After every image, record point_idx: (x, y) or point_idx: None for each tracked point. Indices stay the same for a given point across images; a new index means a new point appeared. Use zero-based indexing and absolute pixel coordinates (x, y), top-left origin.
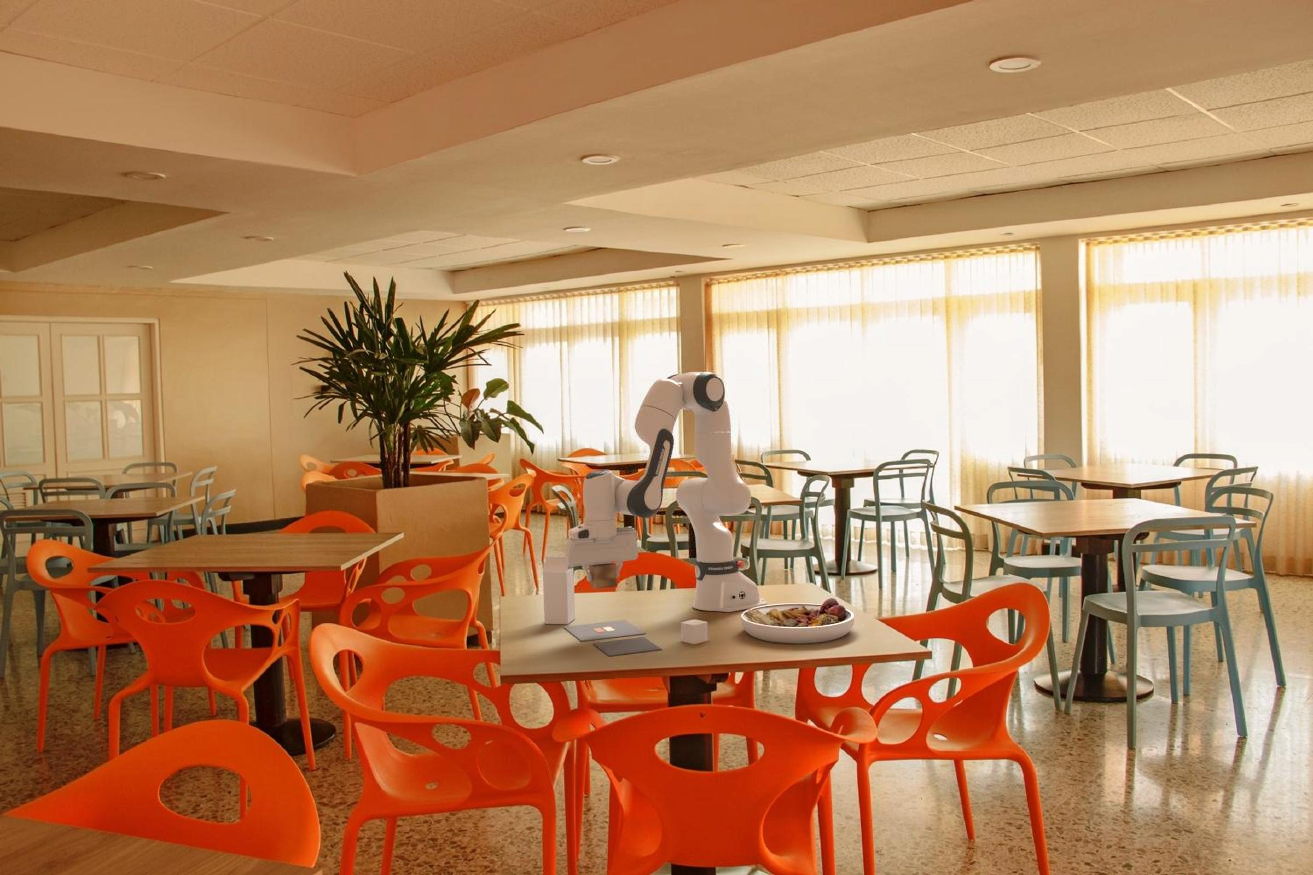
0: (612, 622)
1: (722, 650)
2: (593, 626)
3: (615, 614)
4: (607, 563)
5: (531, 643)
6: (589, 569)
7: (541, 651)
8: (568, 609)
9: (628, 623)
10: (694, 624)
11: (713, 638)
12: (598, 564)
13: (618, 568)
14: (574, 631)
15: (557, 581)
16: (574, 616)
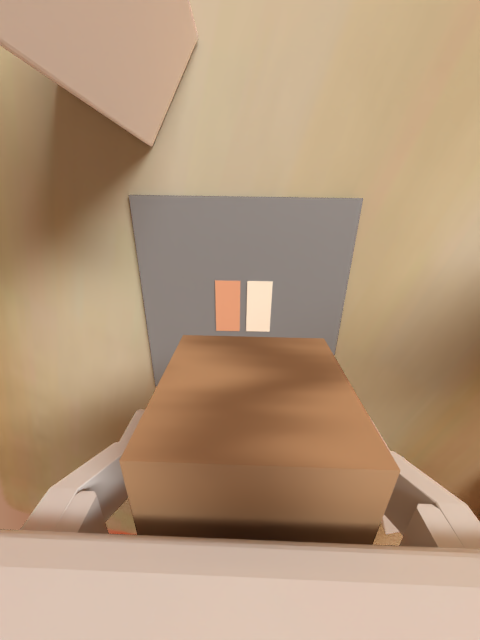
0: (306, 218)
1: (380, 533)
2: (227, 246)
3: (396, 32)
4: (322, 530)
5: (26, 344)
6: (146, 418)
7: (55, 418)
8: (134, 120)
9: (345, 262)
10: (393, 530)
11: (427, 474)
12: (216, 528)
13: (384, 514)
14: (154, 284)
15: None
16: (192, 42)
